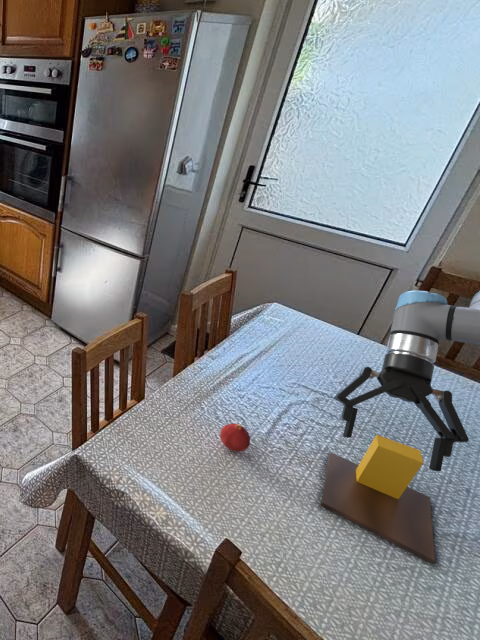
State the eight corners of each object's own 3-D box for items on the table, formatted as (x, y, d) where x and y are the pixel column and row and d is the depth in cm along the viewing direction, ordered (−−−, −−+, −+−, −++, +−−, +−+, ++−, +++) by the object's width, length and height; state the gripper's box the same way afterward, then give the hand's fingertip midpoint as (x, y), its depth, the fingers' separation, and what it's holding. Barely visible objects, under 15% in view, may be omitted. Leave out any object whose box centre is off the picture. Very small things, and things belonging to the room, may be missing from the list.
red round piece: (218, 434, 100) (226, 410, 97) (246, 445, 97) (255, 421, 93) (215, 451, 96) (223, 426, 92) (244, 463, 93) (254, 439, 89)
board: (427, 500, 84) (429, 497, 84) (432, 564, 74) (435, 560, 74) (328, 454, 94) (330, 451, 94) (320, 505, 84) (322, 502, 83)
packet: (396, 486, 86) (420, 450, 81) (398, 499, 84) (423, 463, 79) (355, 469, 90) (376, 434, 85) (356, 481, 87) (378, 445, 83)
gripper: (483, 384, 87) (465, 484, 83) (332, 341, 101) (310, 425, 96) (505, 379, 81) (487, 487, 77) (341, 334, 95) (318, 423, 90)
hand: (388, 453), depth 87 cm, fingers open, 13 cm apart
